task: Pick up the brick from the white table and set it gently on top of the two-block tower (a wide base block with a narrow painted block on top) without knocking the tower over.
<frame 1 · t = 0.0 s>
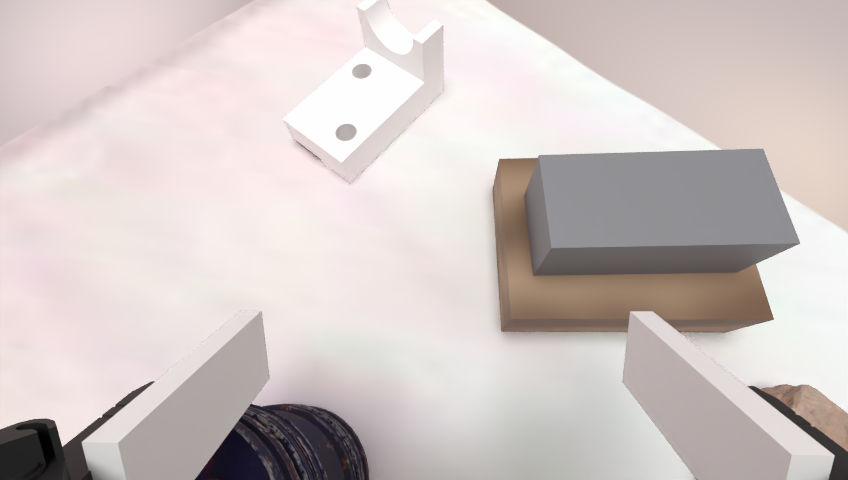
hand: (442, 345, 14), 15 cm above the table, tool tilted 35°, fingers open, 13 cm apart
tower base: (597, 256, 32), on the table, touching tower top
tower top: (624, 232, 27), point 4 cm above the table, touching tower base
bracket: (371, 119, 38), on the table
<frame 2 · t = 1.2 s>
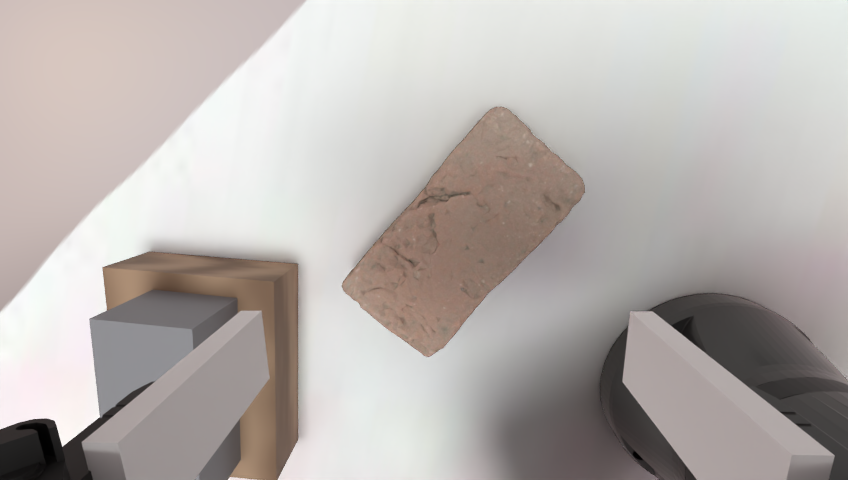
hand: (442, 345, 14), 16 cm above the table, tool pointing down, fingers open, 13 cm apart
tower base: (230, 347, 34), on the table, touching tower top
brick: (459, 226, 31), on the table
tower top: (198, 378, 29), point 4 cm above the table, touching tower base
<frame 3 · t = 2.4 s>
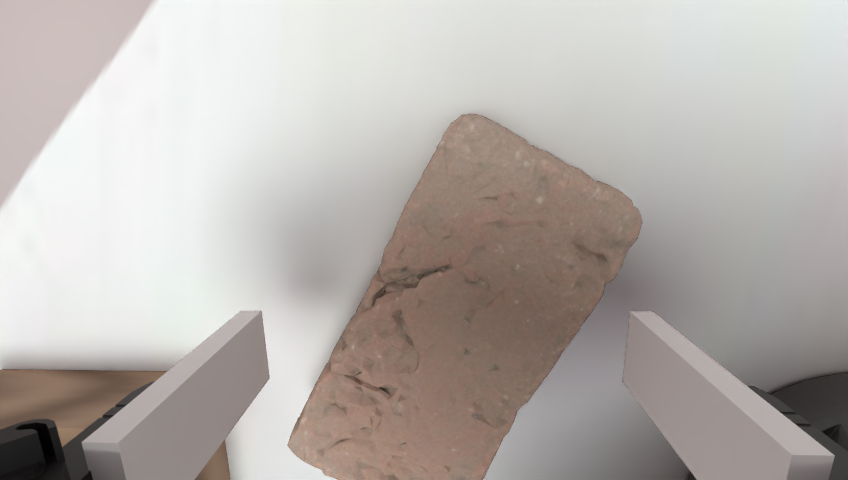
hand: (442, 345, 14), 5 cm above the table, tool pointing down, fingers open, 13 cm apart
brick: (451, 300, 20), on the table
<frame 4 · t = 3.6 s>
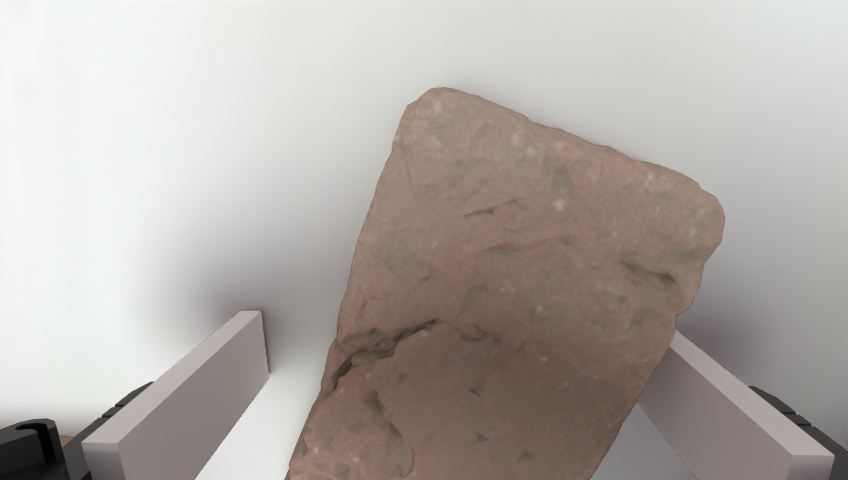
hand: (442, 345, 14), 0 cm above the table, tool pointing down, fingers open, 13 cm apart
brick: (454, 345, 15), on the table
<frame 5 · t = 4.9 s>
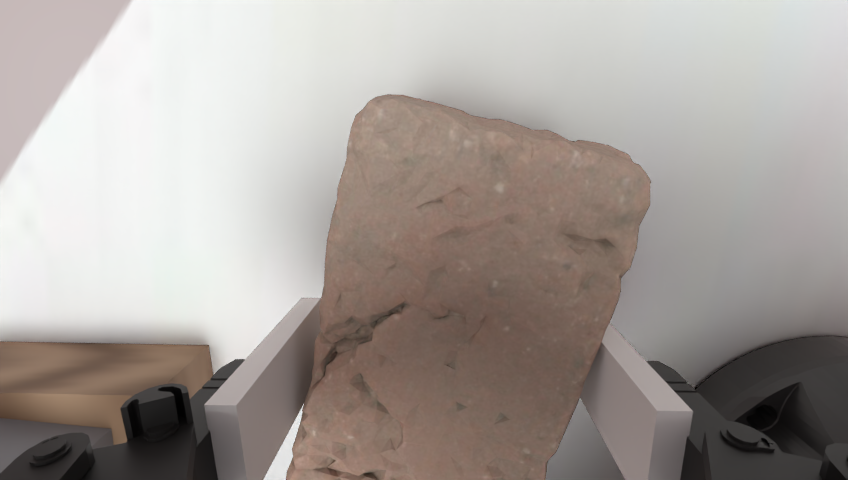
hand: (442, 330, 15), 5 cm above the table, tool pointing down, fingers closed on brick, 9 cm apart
tower base: (136, 455, 25), on the table, touching tower top
brick: (438, 329, 16), point 5 cm above the table, touching gripper
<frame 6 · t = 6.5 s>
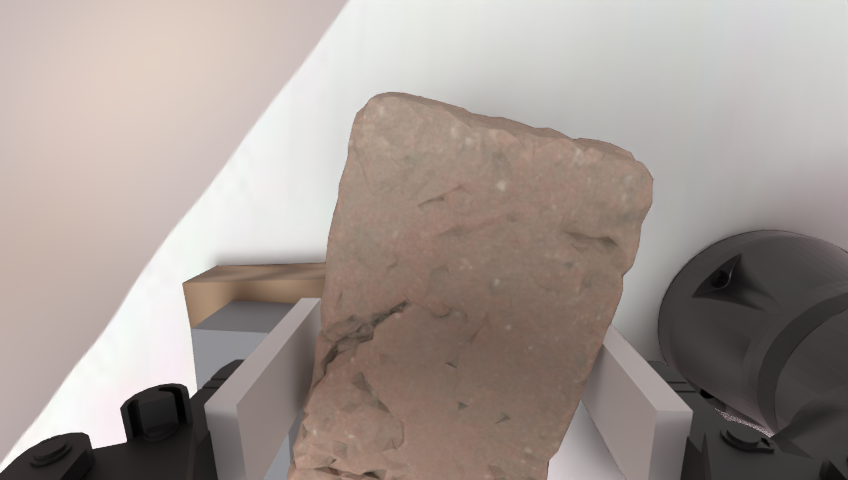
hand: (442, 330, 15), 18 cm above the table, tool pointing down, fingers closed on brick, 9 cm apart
tower base: (296, 347, 36), on the table, touching tower top
brick: (439, 328, 16), point 17 cm above the table, touching gripper
tower top: (275, 379, 32), point 5 cm above the table, touching tower base
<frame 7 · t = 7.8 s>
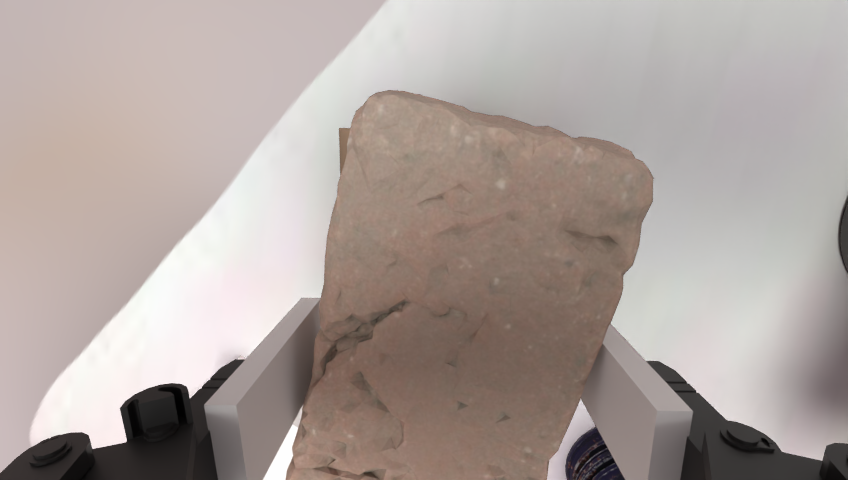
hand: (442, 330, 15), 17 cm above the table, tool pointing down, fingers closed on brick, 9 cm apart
tower base: (429, 232, 33), on the table, touching tower top
dark blue barrel: (617, 465, 37), on the table
brick: (439, 327, 16), point 17 cm above the table, touching gripper
bracket: (281, 418, 38), on the table
when the fingers open (10 cm above the table, at t = 9.7 s): brick moves 1 cm, resting on tower top.
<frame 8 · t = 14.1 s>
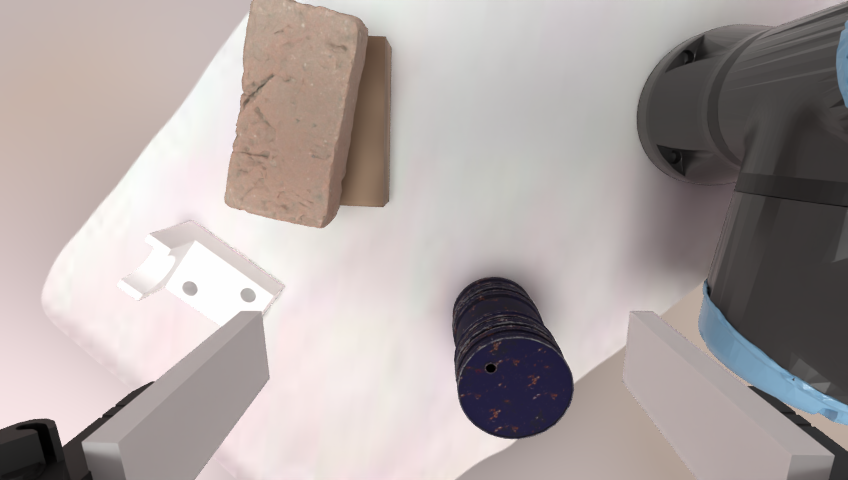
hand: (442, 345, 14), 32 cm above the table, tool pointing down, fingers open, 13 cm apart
tower base: (336, 126, 44), on the table, touching tower top
dark blue barrel: (492, 314, 48), on the table
brick: (307, 118, 35), point 9 cm above the table, touching tower top
bracket: (226, 274, 49), on the table
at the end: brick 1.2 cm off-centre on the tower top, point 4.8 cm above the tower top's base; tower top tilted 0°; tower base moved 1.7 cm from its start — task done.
